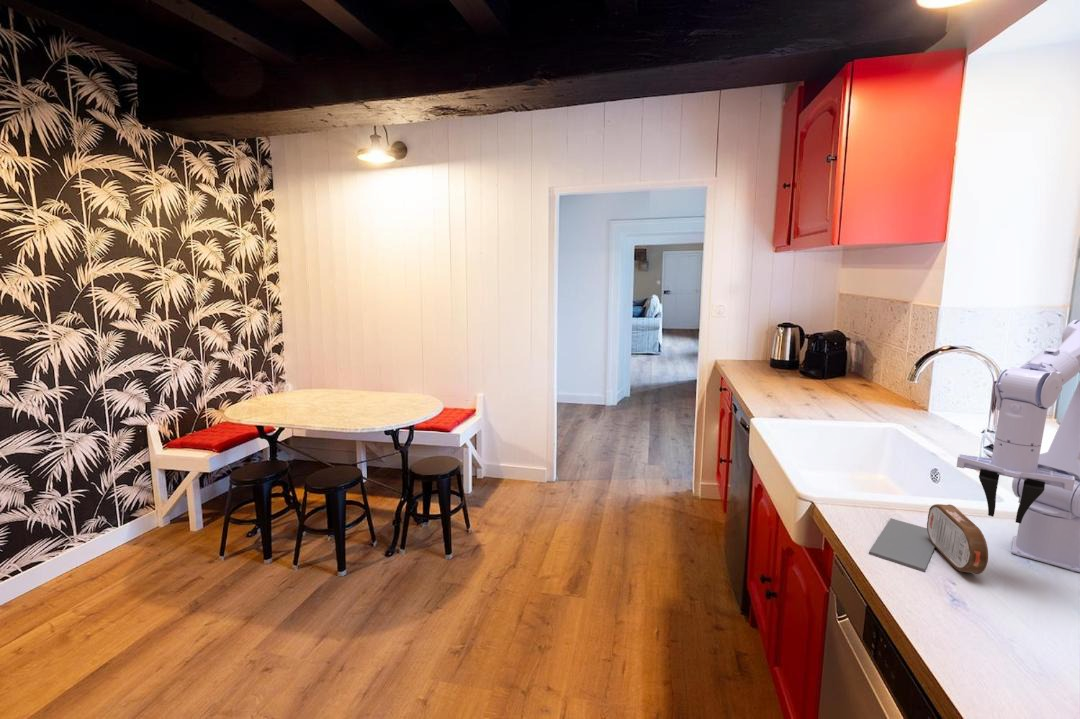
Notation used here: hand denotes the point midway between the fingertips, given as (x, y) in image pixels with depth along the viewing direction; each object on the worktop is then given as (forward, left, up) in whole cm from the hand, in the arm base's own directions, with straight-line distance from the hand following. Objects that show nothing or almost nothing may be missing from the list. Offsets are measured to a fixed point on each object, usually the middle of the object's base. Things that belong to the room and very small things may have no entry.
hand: (1004, 517), depth 90 cm
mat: (+13, -1, -10) cm, 17 cm away
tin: (+6, 0, -10) cm, 12 cm away
